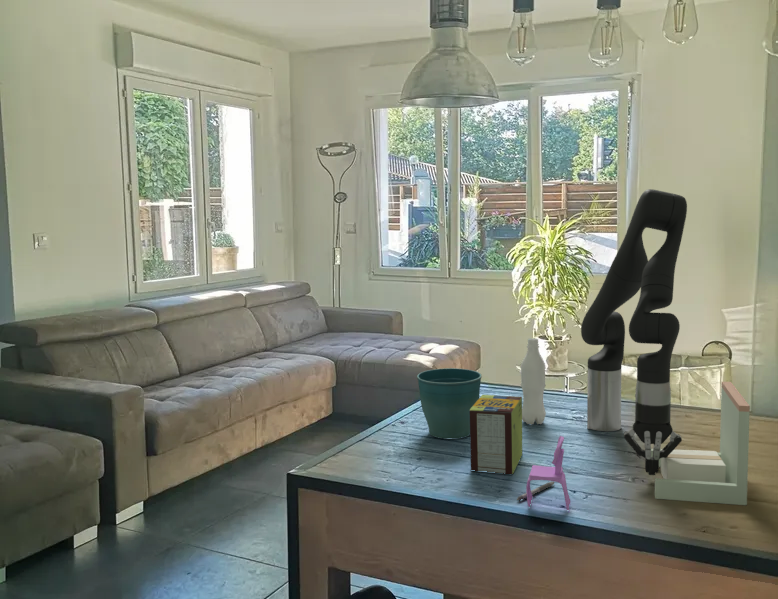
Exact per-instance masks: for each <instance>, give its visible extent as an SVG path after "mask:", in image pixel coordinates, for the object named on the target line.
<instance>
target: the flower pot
mask: <svg viewBox="0 0 778 599" xmlns="http://www.w3.org/2000/svg"><path fill="white" fill-rule="evenodd" d="M482 377H483V376H482V374H481V373H480V372H479V371H477V370H473V369H465V368H451V367H449V368H446V367H445V368H437V369H436V368H435V369H428V370H424V371H421V372H420V373H418V374H417V376H416V378H417V382H418V389H419V397H420V398H419V399H420V400H419V401H420V405H421V408H422V413H423V415H424V419H425V420H426V424H427V428H428V433H429V435H431V436H432V437H434V436H435V437H434V438H437V437H439V438H438V439H442V438H458V439H462V438H461V437H463V438H465V436H466V437H469V436H470V414H469V410H470V409H471V407H472V406H473V405H474V404H475V403H476V402H477V400H478V399H479V398H480V394H481V393H480V390H481V381H482Z"/></svg>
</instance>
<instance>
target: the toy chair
mask: <svg viewBox="0 0 778 599" xmlns="http://www.w3.org/2000/svg"><path fill="white" fill-rule="evenodd" d="M557 440H558V441H557V445H556V447H555V450H554V453H553V460H552V462H551V463H552V464H553V465H554V466H544V465H535V464H533V465H532V466H531V470H530V473H529V475H528V478H527V481H526V489H525V490H526V494H527V498H526V500H527V507H528V506H529V507H530V504H531V500H532V497H533V498H534V495H533V496H532V493H531V491H532V489H531V482H532V481H548V482H554V483H559V484H560V485H561V486H562V487H561V488H562V492H563V496H564V501H565V507H566V511H567V510H569V511H570V509H569V504H570V505H571V498H570V495H569V491H568V485H567V479H566V478H567V477H566V474H565V472H564V471H563V467H562V466H563V460H564V454H565V449H564V448H562V447H563V444H564V440H565V437H564V436H563V435H560V436H558V439H557ZM531 505H532V504H531Z"/></svg>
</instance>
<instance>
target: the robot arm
mask: <svg viewBox="0 0 778 599" xmlns="http://www.w3.org/2000/svg"><path fill="white" fill-rule="evenodd" d="M687 212H688V202H687V199H686V198H685V197H684V195H683V196H682V195H680V194H676V193H672V192H666V191H662V190H659V189H646V190H644V191H643V192H642V194H641V195H640V197H639V198H638V201H637V204H636V206H635V208H634V211H633V214H632V216H631V219H630V222H629V224H628V228H627V230H626V233H625V235H624V238H623V239H622V242H621V245H620V246H619V248H618V251H617V252H616V254H615V257H614V259H613V261H612V262H611V264H610V267H609V269H608V271H607V274H606V276H605V278H604V281H603V283H602V285H601V288H600V289H599V291H598V293H597V295H596V297H595V299H594V300H593V302H592V304H591V306H590V307H589V308H588V310H587V312H586V313H585V315H584V316H583V317H584V318H583V320H582V323H581V326H580V327H581V328H580V332H581V333H580V335H581V338H582V341H584V342H585V344H587V345H589V346H603V347H602V348H601V349H600V350H599V351H598V352H596V353H594V354H593V355H591V356H589V357H588V359H587V397H586V398H587V400H586V401H587V405H586V406H587V407H586V408H587V410H586V411H587V412H586V413H587V415H586V417H587V421H586V422H587V425H586V426H587V427H586V429H588V430H593V431H598V432H616V431H619V430H621V428H622V366H623V365H622V364H623V360H624V354H625V339H626V324H625V321H624V318H623V316H622V313H621V314H620V312H617V311H616V310H618V309H619V308H620V307H621V306H623V305H624V304H625V303H627V302H628V301H630V300H631V299H632V298H633V297H634V296H635V295H636V294H638V292H640V293H639V298H638V302H637V305H636V307H635V308H634V309H635V310H634V312H633V314H632V316H631V319H630V321H629V324H628V334H629V337H630V338H631V340H632V341H633V342H635V343H637V344H650V345H661V347H660V348H659V350H657V351H654V352H647V353H643V354H640V355H639V356H638V357H637V361H636V362H637V363H636V385H635V394H634V398H635V407H634V408H635V409H634V410H635V411H634V412H635V413H634V414H635V416H634V417H635V418H634V419H635V420H634V423H632V428H630V430H628V431H624V432H623V437H624V439H625V440H626V442H627V443H628V444H629V445H630V447H631V448H632V450H634V452H635V453H636V454H637V456H639V457H643V458H644V469H645V472H646V473H647V474H648V476H656V474H658V473H659V471H660V470H659V468H660V467H659V459H660V458H663V457H664V458H666V457H667V456H668V455H669V454H670V453H671V452H672V451H673V450H676V448H677V447H678V446H679V445H680V444H681V443H682V441H683V439H682V436H681V434H679V433H676V432H675V431H674V430H673V427H672V425H671V412H672V411H671V408H672V407H671V403H672V402H671V400H672V389H671V363H672V362H671V360H672V355H673V351H674V348H675V345H676V342H677V339H678V336H679V334H680V327H681V324H680V321H679V319H678V318H677V316H676V314H674V313H671V312H653V311H657V310H660V309H665V308H667V307H668V308H669V306H670V305H671V304H672V302H673V297H674V283H675V282H674V281H675V271H676V267H677V266H676V265H677V260H678V257H679V251H680V247H681V242H682V239H683V235H684V234H683V233H684V228H685V225H686V218H687V214H688V213H687ZM646 228H648V229H652V230H657V231H661V232H665V233H666V238H665V241H664V242H663V244H662V245H661V246H660V248H659V249H658V250H657V251H656V252H655V253H654V254H653V255H652V256H651V258H650V259H648V256H647V252H646V249H645V246H644V242H643V241H644V240H643V233H644V231H645V229H646ZM635 434H636V435H635ZM636 436H637V437H638V439H639V440H640V441H641V443H643V444H644V449H643V448H642V447H641V446H640V444H638V442H637V440H636ZM668 438H669V442H667V444H666V445H665V446H664V447H663V448H661V445H662V444H664V442H666V440H668ZM652 445H653V448H652ZM651 449H653V457H651ZM660 449H662V450H661V451H660Z"/></svg>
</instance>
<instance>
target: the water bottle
mask: <svg viewBox="0 0 778 599" xmlns="http://www.w3.org/2000/svg"><path fill="white" fill-rule="evenodd" d="M526 344H527V346H526V348H527V350H526V353H525V355H524V357H523V359H522V361H521V363H520V379H521V381H520V386H521V388H522V396H523V397H522V423H524V422H526V423H525V424H527V425H528V424H531V425H530V426H533V425H534V424H535V423H536V425H538V424H540V425H542V424H543V423H544V421H545V418H546V413H547V412H546V408H545V404H544V393H545V392H544V391H545V389H546V369H547V368H546V367H547V366H546V363H545V361H544V359H543V357H542V355H541V354H540V353H541V352H540V351H539V348H540V346H539V338H528V339H527V343H526ZM532 424H533V425H532Z"/></svg>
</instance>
